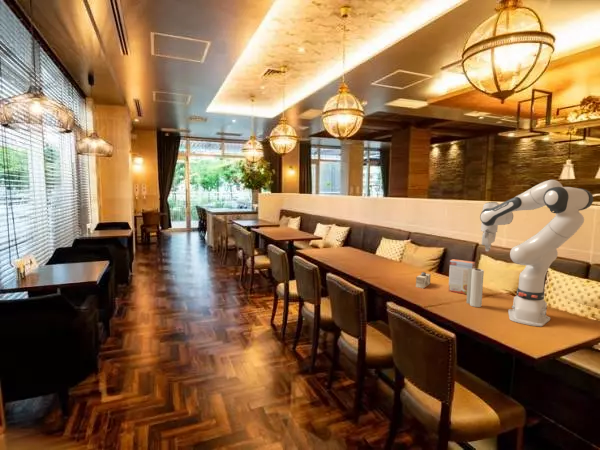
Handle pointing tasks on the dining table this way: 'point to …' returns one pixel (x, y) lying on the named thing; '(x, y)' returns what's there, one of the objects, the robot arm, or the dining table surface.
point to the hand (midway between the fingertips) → (487, 250)
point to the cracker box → (459, 275)
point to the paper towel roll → (475, 287)
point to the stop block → (423, 280)
